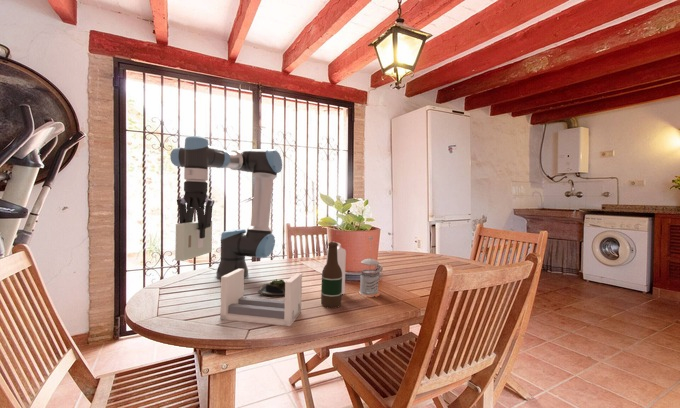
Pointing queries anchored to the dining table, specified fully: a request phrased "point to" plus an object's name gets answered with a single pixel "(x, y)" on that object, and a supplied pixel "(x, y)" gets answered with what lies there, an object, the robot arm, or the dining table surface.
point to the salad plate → (273, 289)
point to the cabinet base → (238, 290)
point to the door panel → (191, 241)
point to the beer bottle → (331, 279)
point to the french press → (369, 287)
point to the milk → (341, 263)
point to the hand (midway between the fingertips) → (194, 247)
